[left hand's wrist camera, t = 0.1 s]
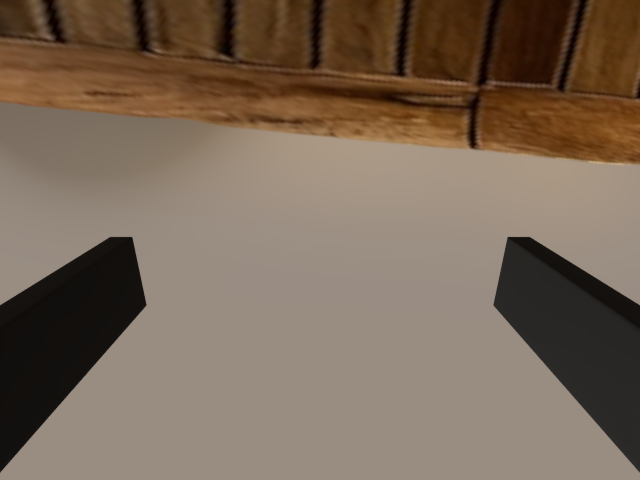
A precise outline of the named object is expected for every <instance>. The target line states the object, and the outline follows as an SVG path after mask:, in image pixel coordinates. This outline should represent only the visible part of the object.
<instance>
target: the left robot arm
mask: <svg viewBox="0 0 640 480" xmlns="http://www.w3.org/2000/svg"><path fill="white" fill-rule="evenodd" d="M145 306H146V301H145V296H144V291H143V286H142V281H141V277H140V272H139V267H138V262H137V258H136V253H135V248H134V243H133V238H132V237H110V238H108V239H106V240H105V241H103V242H102V243H100V244H98V245H97V246H95V247H94V248H92V249H90V250H89V251H87V252H85V253H84V254H82V255H81V256H79V257H77V258H76V259H74V260H73V261H71V262H69V263H68V264H66V265H64V266H63V267H61V268H60V269H58V270H56V271H55V272H53V273H52V274H50V275H48V276H47V277H45V278H43V279H42V280H40V281H39V282H37V283H35V284H34V285H32V286H31V287H29V288H27V289H26V290H24V291H23V292H21V293H19V294H18V295H16V296H15V297H13V298H11V299H10V300H8V301H6V302H5V303H3V304H2V305H0V472H1V471H2V470H3V469H4V468H5V466H6V465H7V464H8V463H9V462H10V461H11V460H12V458H13V457H14V456H15V455H16V454H17V453H18V451H19V450H20V449H21V448H22V447H23V446H24V445H25V444H26V442H27V441H28V440H29V439H30V438H31V437H32V436H33V434H34V433H35V432H36V431H37V430H38V429H39V428H40V426H41V425H42V424H43V423H44V422H45V421H46V420H47V418H48V417H49V416H50V415H51V414H52V413H53V412H54V410H55V409H56V408H57V407H58V406H59V405H60V404H61V402H62V401H63V400H64V399H65V398H66V397H67V396H68V394H69V393H70V392H71V391H72V390H73V389H74V388H75V386H76V385H77V384H78V383H79V382H80V381H81V380H82V378H83V377H84V376H85V375H86V374H87V373H88V372H89V370H90V369H91V368H92V367H93V366H94V365H95V364H96V362H97V361H98V360H99V359H100V358H101V357H102V356H103V354H104V353H105V352H106V351H107V350H108V349H109V348H110V346H111V345H112V344H113V343H114V342H115V341H116V340H117V338H118V337H119V336H120V335H121V334H122V333H123V332H124V330H125V329H126V328H127V327H128V326H129V325H130V324H131V322H132V321H133V320H134V319H135V318H136V317H137V316H138V314H139V313H140V312H141V311H142V310H143V309H144V308H145ZM494 306H495V308H496V309H497V310H498V311H499V312H500V313H501V314H502V316H503V317H504V318H505V319H506V320H507V321H508V322H509V324H510V325H511V326H512V327H513V328H514V329H515V330H516V332H517V333H518V334H519V335H520V336H521V337H522V338H523V340H524V341H525V342H526V343H527V344H528V345H529V346H530V348H531V349H532V350H533V351H534V352H535V353H536V354H537V356H538V357H539V358H540V359H541V360H542V361H543V362H544V364H545V365H546V366H547V367H548V368H549V369H550V370H551V372H552V373H553V374H554V375H555V376H556V377H557V378H558V380H559V381H560V382H561V383H562V384H563V385H564V386H565V388H566V389H567V390H568V391H569V392H570V393H571V394H572V396H573V397H574V398H575V399H576V400H577V401H578V402H579V404H580V405H581V406H582V407H583V408H584V409H585V410H586V412H587V413H588V414H589V415H590V416H591V417H592V418H593V420H594V421H595V422H596V423H597V424H598V425H599V426H600V427H601V429H602V430H603V431H604V432H605V433H606V434H607V436H608V437H609V438H610V439H611V440H612V441H613V442H614V444H615V445H616V446H617V447H618V448H619V449H620V450H621V452H622V453H623V454H624V455H625V456H626V457H627V458H628V460H629V461H630V462H631V463H632V464H633V465H634V466H635V468H636V469H637V470H638V471H639V472H640V305H638V304H637V303H635V302H634V301H632V300H630V299H629V298H627V297H626V296H624V295H622V294H621V293H619V292H617V291H616V290H614V289H613V288H611V287H609V286H608V285H606V284H605V283H603V282H601V281H600V280H598V279H596V278H595V277H593V276H592V275H590V274H588V273H587V272H585V271H584V270H582V269H580V268H579V267H577V266H576V265H574V264H572V263H571V262H569V261H567V260H566V259H564V258H563V257H561V256H559V255H558V254H556V253H555V252H553V251H551V250H550V249H548V248H546V247H545V246H543V245H542V244H540V243H538V242H537V241H535V240H534V239H532V238H530V237H508V238H507V243H506V248H505V253H504V257H503V262H502V267H501V272H500V277H499V281H498V286H497V291H496V296H495V300H494Z"/></svg>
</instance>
